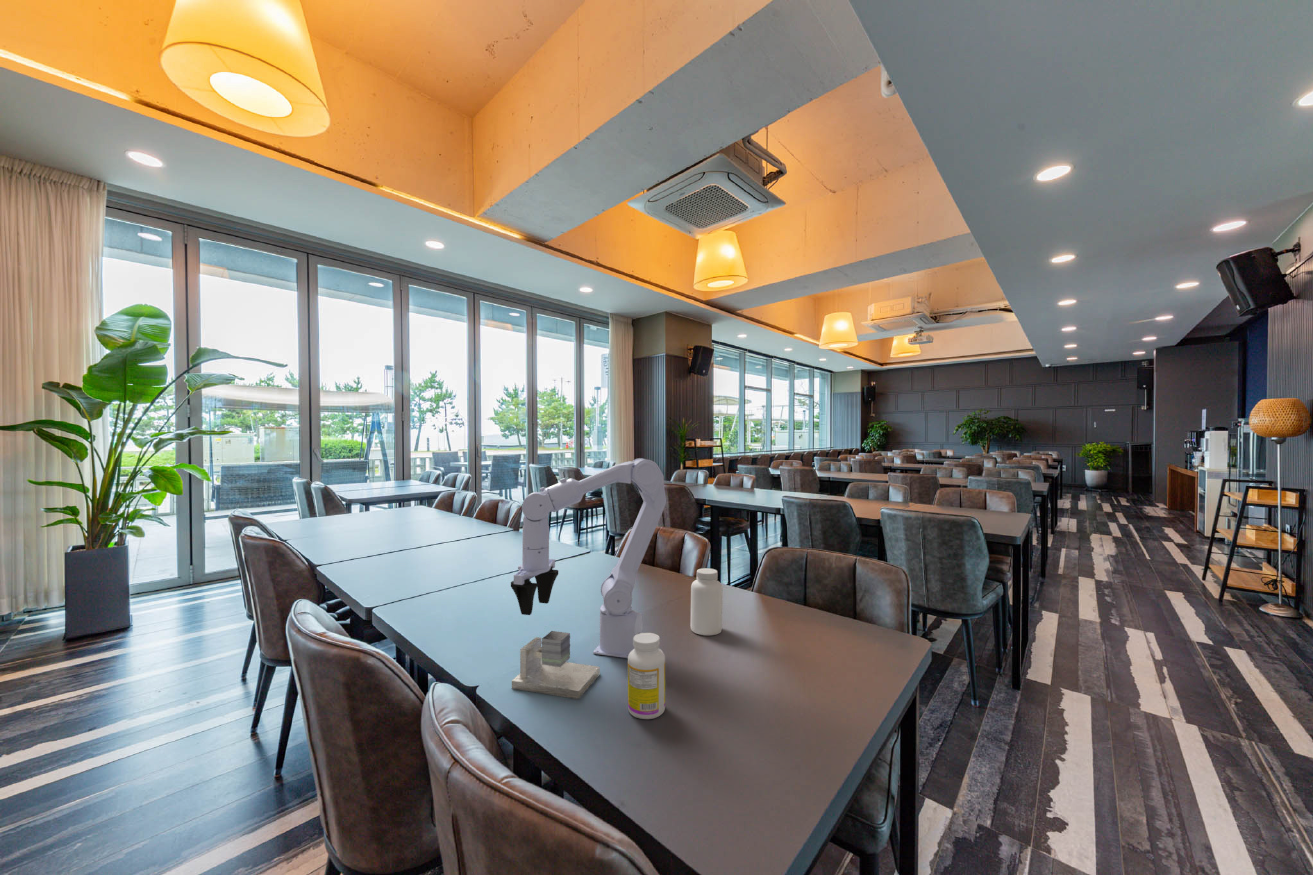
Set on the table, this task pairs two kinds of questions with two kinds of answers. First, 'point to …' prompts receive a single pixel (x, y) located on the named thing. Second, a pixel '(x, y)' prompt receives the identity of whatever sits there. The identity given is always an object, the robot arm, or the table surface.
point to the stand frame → (552, 674)
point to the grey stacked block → (555, 648)
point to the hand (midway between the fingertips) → (535, 608)
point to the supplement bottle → (646, 677)
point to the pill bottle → (706, 603)
